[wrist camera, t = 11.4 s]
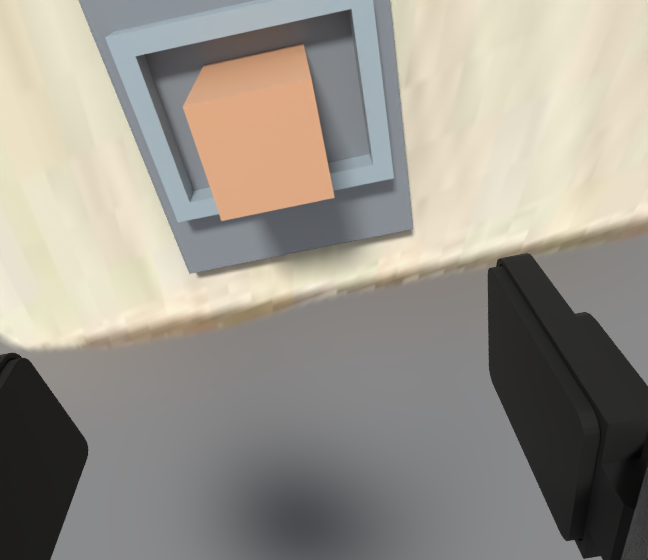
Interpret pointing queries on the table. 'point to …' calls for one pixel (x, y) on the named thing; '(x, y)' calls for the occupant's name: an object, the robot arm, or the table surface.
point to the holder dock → (331, 99)
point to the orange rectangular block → (259, 133)
